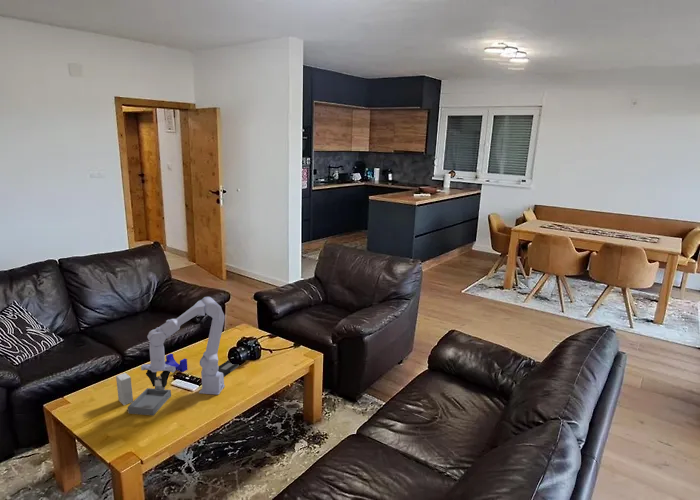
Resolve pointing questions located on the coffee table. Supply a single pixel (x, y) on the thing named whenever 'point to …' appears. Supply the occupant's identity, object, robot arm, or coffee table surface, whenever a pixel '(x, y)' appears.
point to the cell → (158, 384)
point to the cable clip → (172, 362)
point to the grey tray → (149, 402)
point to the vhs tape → (227, 367)
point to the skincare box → (124, 388)
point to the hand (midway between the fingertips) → (159, 385)
